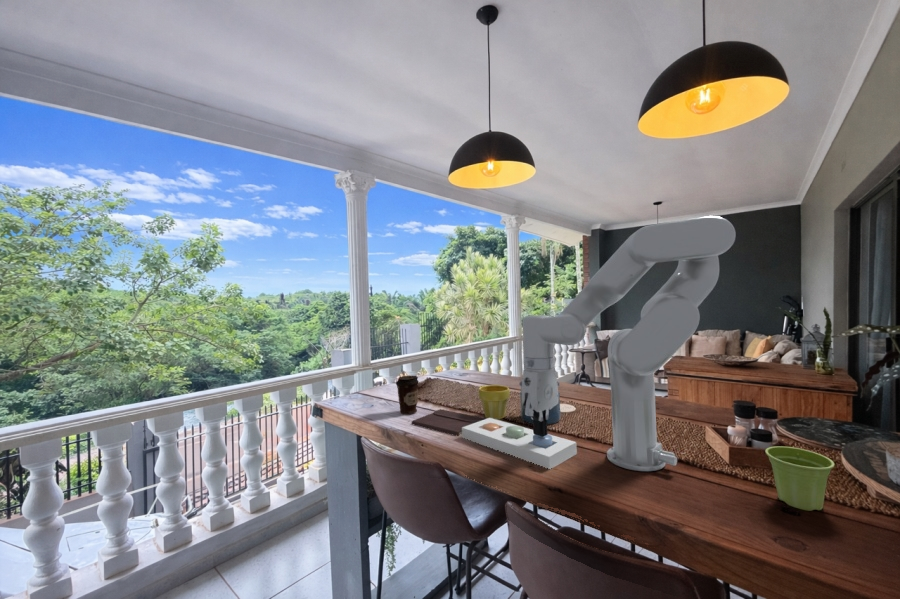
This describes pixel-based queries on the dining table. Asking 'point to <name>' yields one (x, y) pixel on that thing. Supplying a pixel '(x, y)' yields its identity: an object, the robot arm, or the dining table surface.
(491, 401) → the plant pot
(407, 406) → the coffee cup
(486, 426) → the rust button
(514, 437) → the sage button
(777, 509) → the dining table surface
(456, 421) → the notebook
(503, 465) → the dining table surface
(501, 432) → the button panel
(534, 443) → the slate button
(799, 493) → the plant pot
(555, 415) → the canister
